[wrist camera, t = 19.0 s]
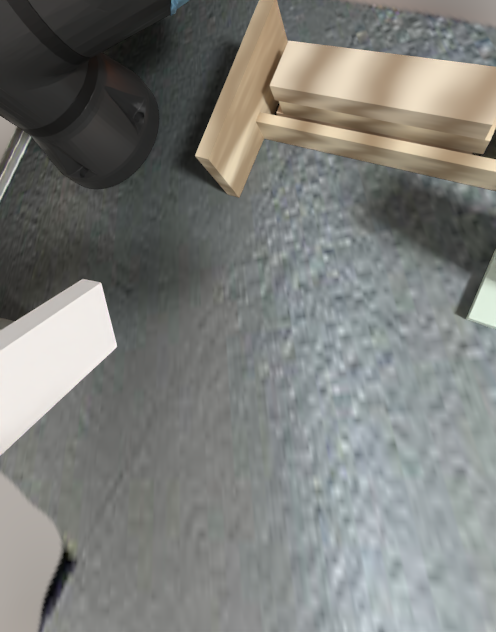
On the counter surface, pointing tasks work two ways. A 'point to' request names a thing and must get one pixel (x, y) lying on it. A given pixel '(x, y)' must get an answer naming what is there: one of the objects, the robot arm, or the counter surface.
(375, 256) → the counter surface
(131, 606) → the counter surface
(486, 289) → the sage mat
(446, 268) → the counter surface
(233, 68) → the birch rack
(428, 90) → the offcut stack
